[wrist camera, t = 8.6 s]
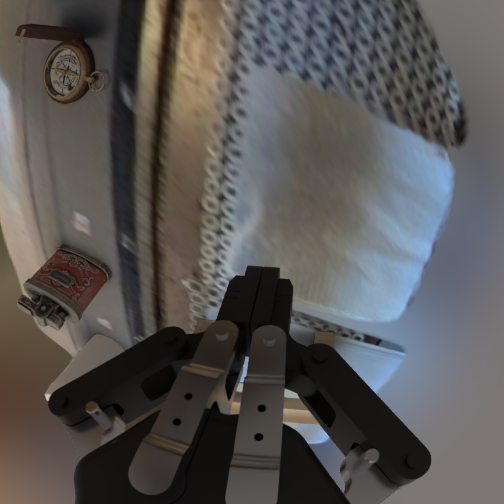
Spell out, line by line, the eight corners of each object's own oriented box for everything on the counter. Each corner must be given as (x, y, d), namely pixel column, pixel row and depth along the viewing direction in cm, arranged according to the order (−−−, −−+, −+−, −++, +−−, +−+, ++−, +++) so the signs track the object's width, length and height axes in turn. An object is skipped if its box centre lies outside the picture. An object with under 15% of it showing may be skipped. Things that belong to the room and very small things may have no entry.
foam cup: (85, 317, 40) (41, 385, 29) (139, 348, 41) (102, 423, 30) (84, 347, 45) (49, 406, 35) (131, 373, 46) (101, 436, 36)
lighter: (112, 264, 32) (63, 326, 24) (111, 284, 34) (68, 345, 26) (59, 239, 32) (7, 291, 24) (61, 259, 34) (14, 311, 26)
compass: (44, 95, 22) (-11, 115, 16) (62, 20, 17) (3, 24, 11) (102, 116, 23) (45, 140, 17) (127, 31, 18) (67, 30, 12)
